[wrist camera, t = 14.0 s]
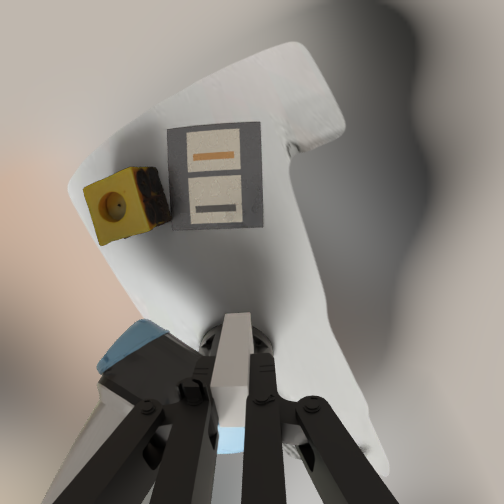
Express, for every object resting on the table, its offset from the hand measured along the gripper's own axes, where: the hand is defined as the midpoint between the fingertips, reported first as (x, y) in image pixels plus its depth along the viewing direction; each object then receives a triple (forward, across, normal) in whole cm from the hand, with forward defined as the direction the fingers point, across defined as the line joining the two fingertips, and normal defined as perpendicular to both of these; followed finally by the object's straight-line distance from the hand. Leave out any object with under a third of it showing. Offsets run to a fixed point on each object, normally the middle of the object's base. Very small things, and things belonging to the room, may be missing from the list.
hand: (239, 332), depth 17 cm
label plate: (+33, +5, -10) cm, 34 cm away
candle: (+33, +19, -7) cm, 39 cm away
